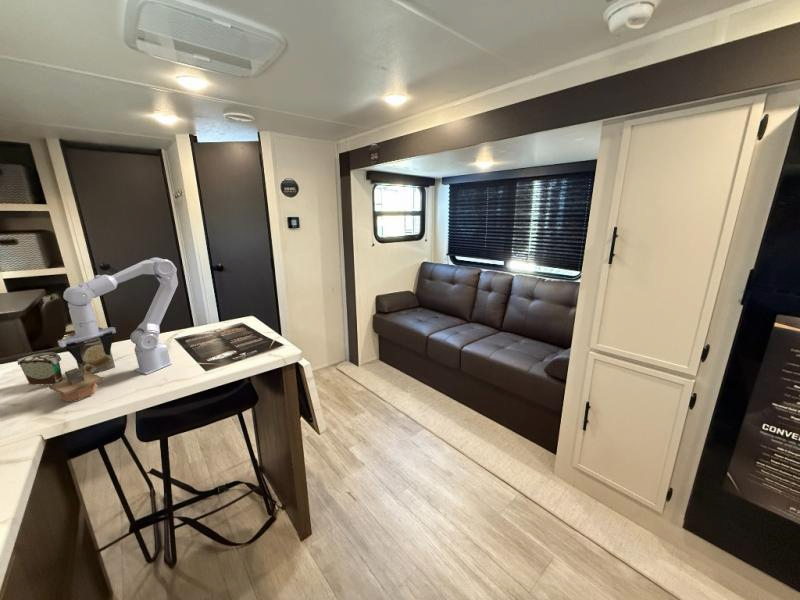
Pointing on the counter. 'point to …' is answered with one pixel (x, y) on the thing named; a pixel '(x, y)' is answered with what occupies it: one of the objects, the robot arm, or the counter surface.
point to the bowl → (79, 393)
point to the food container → (41, 368)
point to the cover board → (72, 388)
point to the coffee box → (94, 356)
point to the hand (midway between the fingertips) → (94, 358)
